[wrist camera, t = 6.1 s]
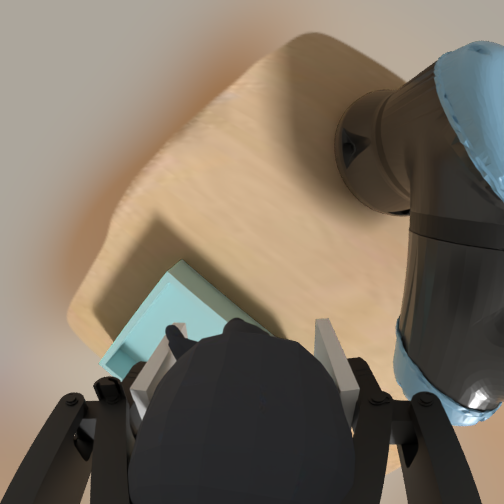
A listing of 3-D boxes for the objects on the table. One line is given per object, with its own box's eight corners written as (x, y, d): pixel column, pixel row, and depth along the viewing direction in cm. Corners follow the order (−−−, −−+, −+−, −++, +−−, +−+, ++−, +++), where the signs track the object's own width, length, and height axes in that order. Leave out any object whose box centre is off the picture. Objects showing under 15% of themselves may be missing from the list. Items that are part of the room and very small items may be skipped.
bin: (181, 258, 34) (167, 271, 29) (294, 351, 36) (298, 375, 31) (115, 344, 37) (98, 363, 32) (212, 417, 39) (207, 441, 34)
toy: (167, 336, 19) (56, 519, 4) (219, 239, 17) (54, 427, 3) (280, 392, 19) (286, 587, 5) (344, 309, 18) (454, 517, 3)
